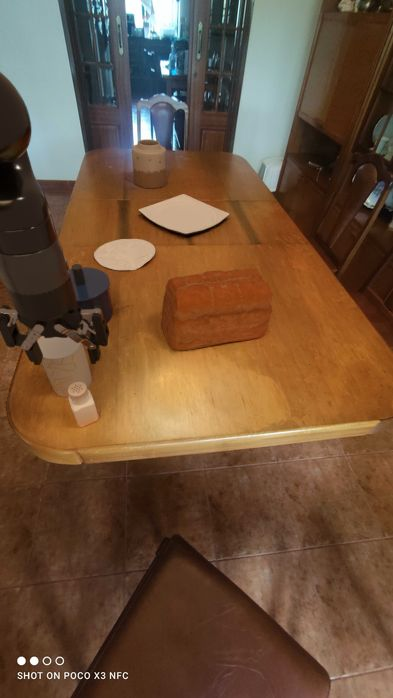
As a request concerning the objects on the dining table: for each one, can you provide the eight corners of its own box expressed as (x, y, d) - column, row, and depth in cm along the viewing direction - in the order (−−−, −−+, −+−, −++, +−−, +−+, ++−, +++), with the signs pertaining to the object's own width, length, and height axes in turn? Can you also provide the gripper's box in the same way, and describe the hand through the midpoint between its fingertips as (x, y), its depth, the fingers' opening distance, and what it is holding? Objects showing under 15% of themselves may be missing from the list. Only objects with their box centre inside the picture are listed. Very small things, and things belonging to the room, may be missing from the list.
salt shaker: (100, 420, 63) (91, 392, 56) (79, 429, 61) (68, 401, 54) (93, 405, 65) (84, 376, 58) (74, 413, 63) (62, 384, 57)
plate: (133, 216, 126) (132, 209, 124) (183, 198, 141) (183, 192, 139) (185, 243, 114) (185, 236, 112) (233, 220, 129) (234, 214, 127)
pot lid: (56, 309, 71) (49, 289, 67) (47, 276, 79) (40, 256, 75) (116, 296, 76) (114, 276, 72) (102, 266, 84) (99, 247, 80)
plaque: (167, 251, 108) (167, 247, 107) (127, 278, 96) (127, 274, 95) (123, 235, 116) (123, 231, 115) (81, 259, 104) (80, 255, 103)
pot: (67, 336, 78) (57, 305, 71) (58, 305, 86) (49, 275, 79) (118, 323, 82) (113, 293, 75) (105, 295, 90) (100, 266, 83)
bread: (270, 338, 82) (286, 290, 71) (170, 355, 76) (171, 305, 65) (249, 304, 91) (260, 258, 81) (158, 317, 85) (157, 268, 74)
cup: (44, 392, 66) (26, 353, 58) (65, 363, 72) (50, 324, 63) (80, 401, 65) (67, 363, 57) (98, 371, 71) (88, 333, 62)
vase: (170, 180, 155) (170, 140, 143) (159, 191, 145) (159, 149, 133) (141, 175, 158) (139, 135, 146) (128, 185, 147) (125, 144, 135)
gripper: (-39, 292, 36) (13, 380, 47) (91, 292, 37) (110, 378, 49) (-14, 256, 41) (27, 344, 53) (99, 258, 42) (115, 343, 54)
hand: (67, 360), depth 51 cm, fingers open, 8 cm apart
